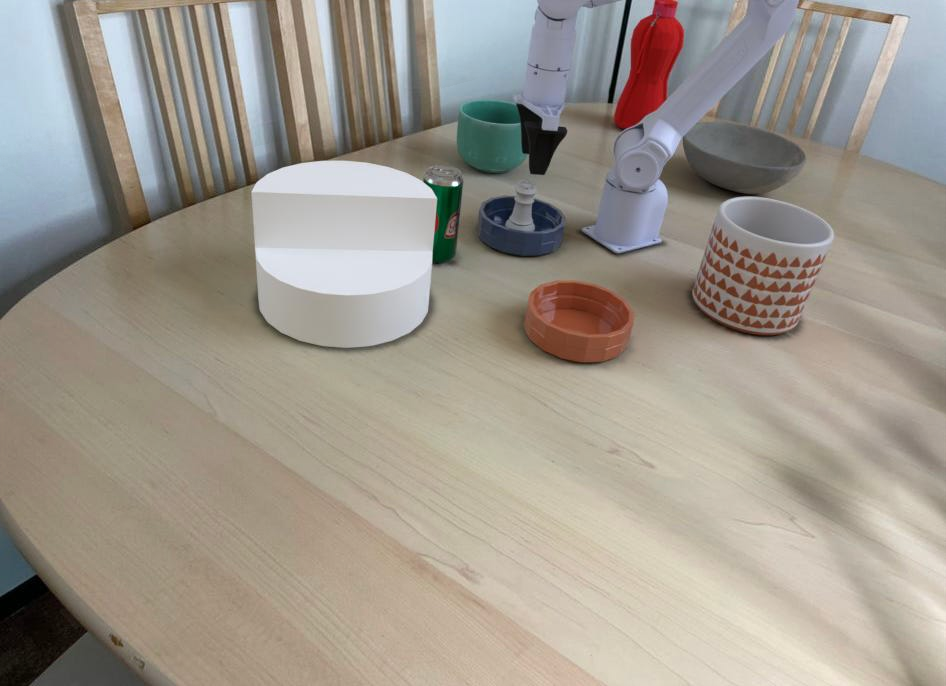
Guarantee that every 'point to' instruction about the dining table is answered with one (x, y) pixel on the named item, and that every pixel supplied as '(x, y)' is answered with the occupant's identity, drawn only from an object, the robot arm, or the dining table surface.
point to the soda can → (445, 209)
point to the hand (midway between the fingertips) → (533, 163)
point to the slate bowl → (516, 241)
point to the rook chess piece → (523, 207)
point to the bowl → (742, 157)
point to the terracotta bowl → (578, 321)
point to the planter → (761, 264)
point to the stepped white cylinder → (343, 251)
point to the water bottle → (650, 64)
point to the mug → (490, 135)
